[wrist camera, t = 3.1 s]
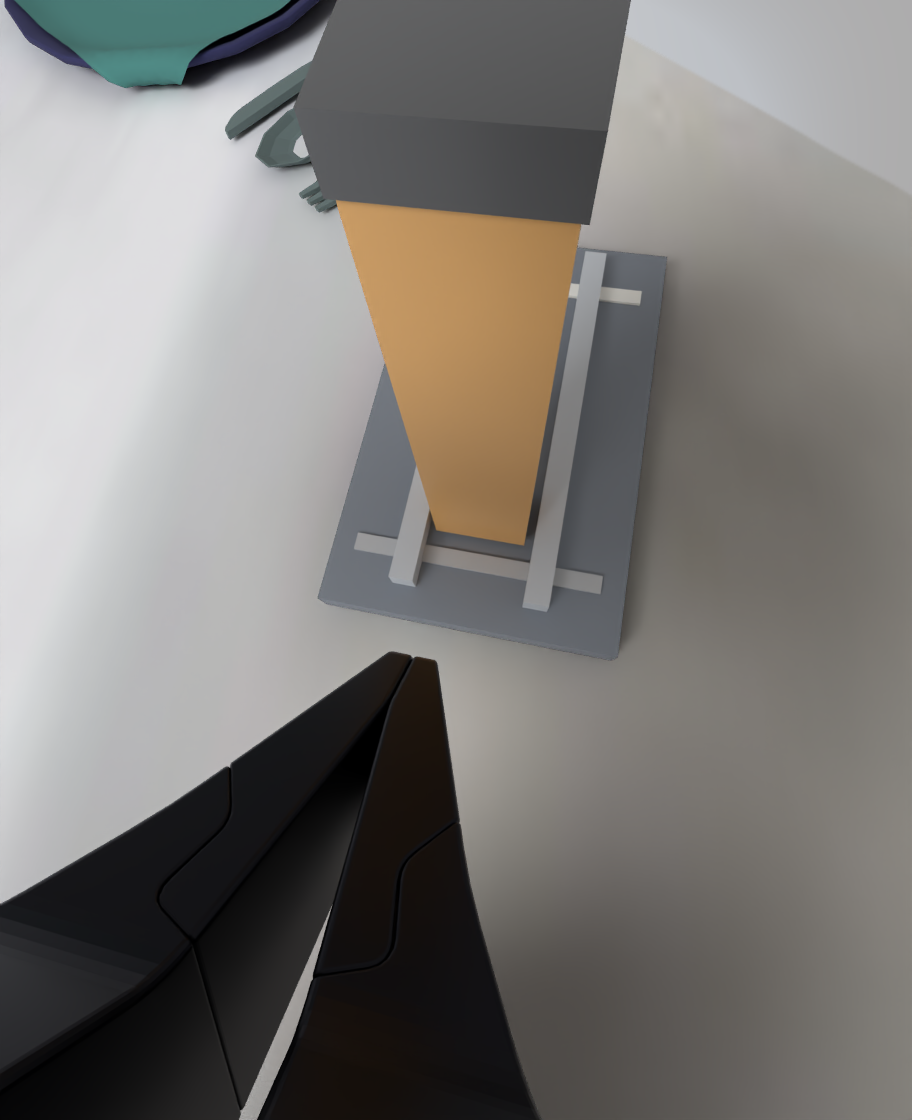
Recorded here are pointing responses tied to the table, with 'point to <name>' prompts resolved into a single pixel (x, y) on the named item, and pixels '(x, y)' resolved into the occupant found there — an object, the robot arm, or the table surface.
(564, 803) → the table surface
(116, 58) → the cutlery set
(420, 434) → the tan wooden bar
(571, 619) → the board
